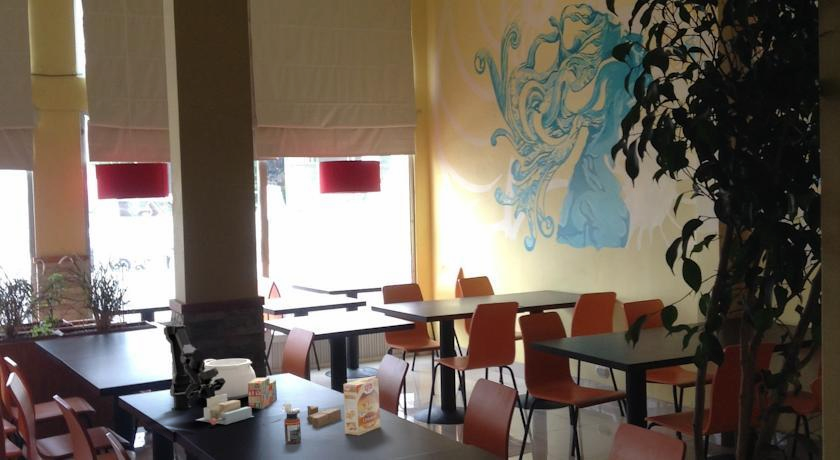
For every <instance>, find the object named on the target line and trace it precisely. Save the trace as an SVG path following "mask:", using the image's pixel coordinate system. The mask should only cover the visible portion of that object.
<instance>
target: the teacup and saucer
mask: <svg viewBox="0 0 840 460" xmlns="http://www.w3.org/2000/svg"><path fill="white" fill-rule="evenodd" d="M283 407H284V408H283ZM281 409H282V411H281V412H283V413H284V412H285V413H287V412H293V411H294V412H297V413H298V412H300V411H301V408H300V407H296V408H293V409H292V403H291V402H290V403H289V402H288V403H285V404H282V405H281Z"/></svg>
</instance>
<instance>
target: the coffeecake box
mask: <svg viewBox="0 0 840 460" xmlns="http://www.w3.org/2000/svg"><path fill="white" fill-rule="evenodd" d="M342 385H343V387H342V388H343V411H344V434H346V435H353V436H361V435H363V434H366V433H368V432H371V431H374V430H376V429H378V428H380V427H381V418H380V417H381V415H380V412H381V411H380V392H379V391H380V389H379V378H374V377H373V378H371V377H363V378H361V379H357V380H353V381H349V382H346V383H343V384H342Z"/></svg>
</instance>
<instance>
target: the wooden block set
mask: <svg viewBox="0 0 840 460" xmlns="http://www.w3.org/2000/svg"><path fill="white" fill-rule="evenodd" d="M306 408H307V417H306V422H307V423H308V424H312V427H313V428H314V429H320V428H321V427H323V426H326V425H329V424H332V423H335V422H337V421H339V420H341V419H342V411H341V410H342V409H341V408H329V409H324V410H321V411H319V406H310V405H307V407H306Z"/></svg>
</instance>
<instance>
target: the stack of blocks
mask: <svg viewBox="0 0 840 460" xmlns="http://www.w3.org/2000/svg"><path fill="white" fill-rule="evenodd" d="M277 393H278V392H277V380H276V379H271V380H270V377H256V379H254V380H252V381H251V382H249V383H248V396H247V397H248V407H251V409H252V408H254V409H259V410H264V409H265V408H266V407H268V406H269V405H271V404H273V402H275V401H276V400H277V399H278V395H277Z"/></svg>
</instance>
